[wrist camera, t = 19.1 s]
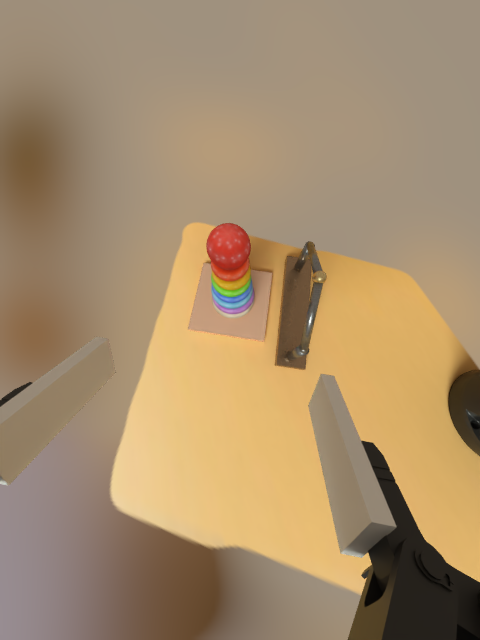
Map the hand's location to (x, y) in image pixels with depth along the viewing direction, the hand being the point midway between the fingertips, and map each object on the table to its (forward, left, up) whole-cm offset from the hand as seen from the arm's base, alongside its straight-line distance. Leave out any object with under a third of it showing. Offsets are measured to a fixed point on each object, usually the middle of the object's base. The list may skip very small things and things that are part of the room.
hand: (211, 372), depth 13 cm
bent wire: (-2, -18, -24) cm, 30 cm away
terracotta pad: (+8, -12, -24) cm, 28 cm away
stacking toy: (+8, -12, -23) cm, 28 cm away
